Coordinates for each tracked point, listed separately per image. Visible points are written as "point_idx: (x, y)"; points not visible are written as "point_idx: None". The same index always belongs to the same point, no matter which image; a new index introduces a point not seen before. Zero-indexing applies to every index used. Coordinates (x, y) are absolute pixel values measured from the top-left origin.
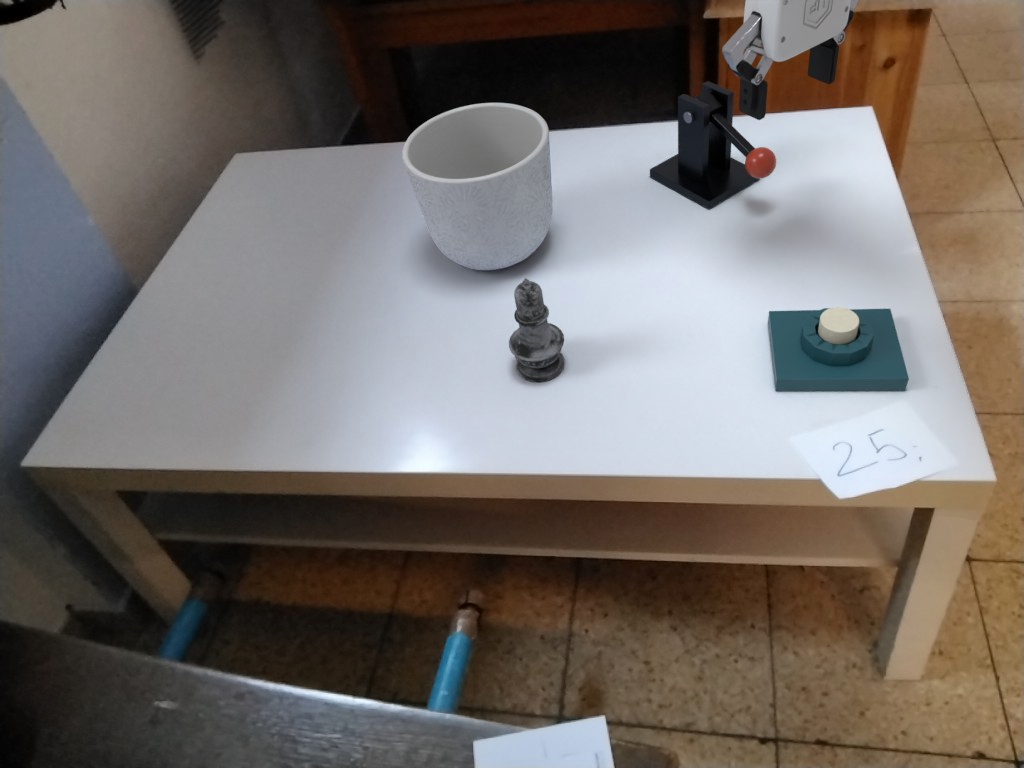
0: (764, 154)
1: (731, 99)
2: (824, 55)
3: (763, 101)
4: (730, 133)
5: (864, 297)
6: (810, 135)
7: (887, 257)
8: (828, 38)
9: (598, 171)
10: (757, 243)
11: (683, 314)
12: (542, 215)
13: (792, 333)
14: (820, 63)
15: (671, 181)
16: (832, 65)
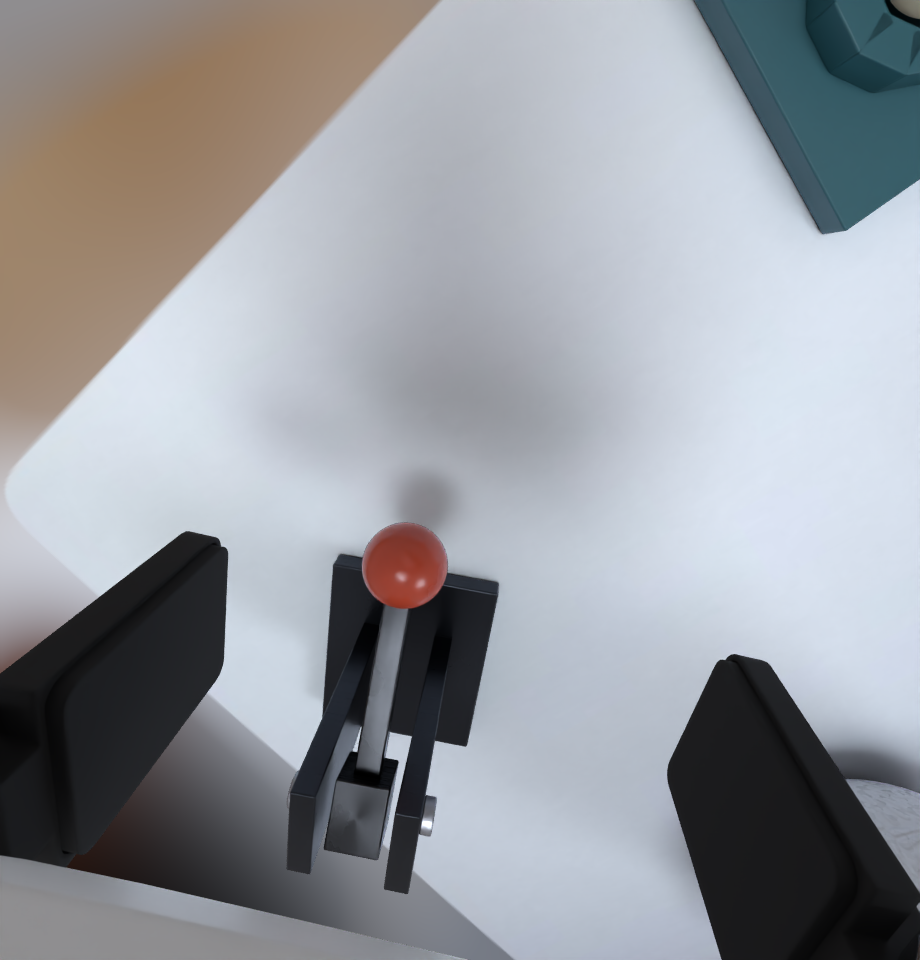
0: (407, 570)
1: (307, 775)
2: (120, 702)
3: (812, 746)
4: (393, 691)
5: (605, 77)
6: (134, 551)
7: (421, 126)
8: (122, 919)
9: (507, 812)
10: (548, 431)
11: (876, 422)
12: (908, 857)
13: (917, 114)
14: (166, 674)
15: (477, 693)
16: (144, 602)
